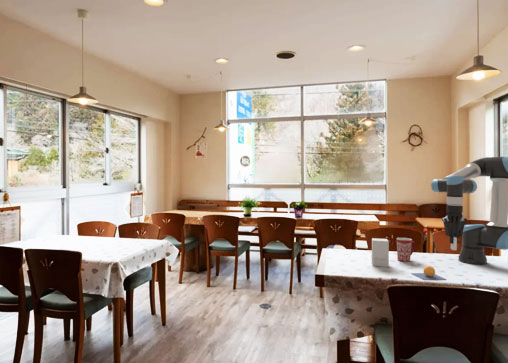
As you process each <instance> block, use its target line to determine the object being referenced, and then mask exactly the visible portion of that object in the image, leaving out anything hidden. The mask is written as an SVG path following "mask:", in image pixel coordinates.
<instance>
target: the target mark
mask: <svg viewBox="0 0 508 363" xmlns="http://www.w3.org/2000/svg"><path fill="white" fill-rule="evenodd" d="M410 273H411V275H413V276H414V277H415V276H416V277H417V278H418V279H419V278H420V280H423V281H439V280H440V281H441V280H444V281H446V280H447V278H444V277H442V276H440V275H437V274H436V273H435V274H434V276H432V277H428V276H426V275H425V274H424V272H414V273H413V272H410Z"/></svg>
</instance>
